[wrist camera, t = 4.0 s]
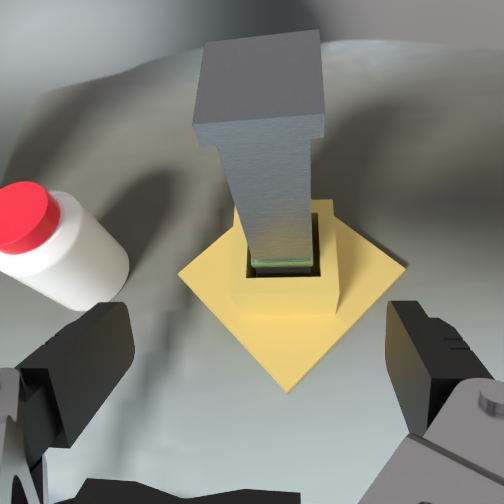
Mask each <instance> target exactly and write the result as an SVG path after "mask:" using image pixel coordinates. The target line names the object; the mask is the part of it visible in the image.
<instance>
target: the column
mask: <svg viewBox="0 0 504 504" xmlns="http://www.w3.org/2000/svg"><path fill="white" fill-rule="evenodd" d="M192 125H193V128H194V131H195V133H196V136H197V139H198V141H199V144H200V147H203V146H216V147H217V150H218V153H219V156H220V159H221V162H222V165H223V169H224V172H225V175H226V178H227V181H228V184H229V187H230V191H231V194H232V197H233V200H234V203H235V206H236V209H237V212H238V216H239V219H240V222H241V225H242V228H243V231H244V234H245V238H246V241H247V244H248V247H249V250H250V253H251V265H252V267H255V269H256V272H257V275H258V278H284V277H311V266H313V249H312V223H311V139H314V138H324V128H325V105H324V91H323V77H322V63H321V48H320V34H319V29H317V30H308V31H300V32H291V33H282V34H274V35H265V36H256V37H247V38H238V39H229V40H221V41H212V42H205V45H204V52H203V58H202V65H201V71H200V77H199V84H198V90H197V97H196V103H195V110H194V116H193V122H192Z"/></svg>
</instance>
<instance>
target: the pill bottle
mask: <svg viewBox="0 0 504 504" xmlns="http://www.w3.org/2000/svg"><path fill="white" fill-rule="evenodd" d="M0 271H1V272H3V273H5V274H6V275H8V276H10V277H12V278H14V279H15V280H17V281H19V282H21V283H23V284H25V285H26V286H28V287H30V288H32V289H34V290H35V291H37V292H39V293H41V294H43V295H44V296H46V297H48V298H50V299H52V300H54V301H55V302H57V303H59V304H61V305H63V306H64V307H67V308H69V309H71V310H75V311H88V310H90V309H91V308H92V307H93V306H94V305H96V304H97V303H99V302H109V301H110V300H111V299H113V298H114V297H115V296H116V295H117V294H118V292H119V291H120V290H121V289H122V287H123V285H124V284H125V282H126V279H127V277H128V273H129V258H128V255H127V253H126V251H125V249H124V248H123V247H122V246H121V245H120V244H119V243H118V242H117V241H116V240H115V239H114V238H113V236H112V235H111V234H110V233H109V232H108V231H107V230H106V229H105V228H104V227H103V226H102V225H101V224H100V223H99V222H98V221H97V220H96V219H95V218H94V217H93V216H92V215H91V214H90V213H89V212H88V211H87V209H86V208H85V207H84V206H83V205H82V204H81V203H80V202H79V201H78V200H77V199H76V198H75V197H73V196H72V195H70V194H68V193H66V192H63V191H58V190H46V189H45V188H44V187H42V186H41V185H39V184H38V183H35V182H30V181H23V182H17V183H13V184H10V185H8V186H6V187H4V188H2V189H0Z"/></svg>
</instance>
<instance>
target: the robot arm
mask: <svg viewBox="0 0 504 504" xmlns="http://www.w3.org/2000/svg"><path fill="white" fill-rule="evenodd" d="M134 354H135V346H134V340H133V335H132V329H131V324H130V319H129V313H128V309H127V306H126V304H125V303H123V302H99V303H97V304H96V305H94V306H93V307H92V308H91V309H90V310H88V311H87V312H86V313H85V314H84V315H82V316H81V317H80V318H79V319H78V320H76V321H74V322H72V323H70V324H68V325H66V326H65V327H64V328H62V329H61V330H60V331H59V332H57V333H56V334H55V337H51V338H50V339H49V340H48V341H46V342H45V345H42V346H40V347H39V348H38V349H37V350H35V351H34V352H33V353H32V354H31V355H29V356H28V357H27V358H26V359H24V360H23V361H22V362H21V363H20V364H18V365H17V366H16V367H15V368H0V504H48V478H47V462H46V458H45V455H44V453H45V451H46V450H47V449H48V448H49V447H53V448H71V446H72V445H73V444H74V442H75V441H76V439H77V438H78V437H79V435H80V434H81V433H82V431H83V430H84V429H85V427H86V426H87V425H88V423H89V422H90V420H91V419H92V418H93V416H94V415H95V414H96V412H97V411H98V410H99V408H100V407H101V405H102V404H103V403H104V401H105V400H106V399H107V397H108V396H109V395H110V393H111V392H112V391H113V389H114V388H115V386H116V385H117V384H118V382H119V381H120V380H121V378H122V377H123V376H124V374H125V373H126V371H127V370H128V369H129V367H130V366H131V364H132V362H133V359H134ZM385 359H386V366H387V371H388V374H389V376H390V379H391V382H392V385H393V388H394V390H395V393H396V396H397V399H398V402H399V404H400V407H401V410H402V413H403V416H404V418H405V421H406V424H407V427H408V430H409V432H410V433H409V434H408V435H407V436H406V437H405V438H404V440H403V441H402V442H401V444H400V445H399V447H398V448H397V449H396V451H395V452H394V454H393V455H392V456H391V458H390V459H389V461H388V462H387V463H386V465H385V466H384V468H383V469H382V470H381V472H380V473H379V475H378V476H377V477H376V479H375V480H374V482H373V483H372V484H371V486H370V487H369V489H368V490H367V491H366V493H365V494H364V496H363V497H362V498H361V500H360V501H359V503H358V504H504V382H501V381H497V380H495V379H494V378H493V377H492V375H491V374H490V373H489V372H488V370H487V369H486V368H485V366H484V365H483V364H482V363H481V361H480V360H479V359H478V357H477V356H476V355H475V354H474V352H473V351H471V350H470V347H469V346H468V345H467V343H466V342H465V341H463V338H462V337H461V336H460V334H459V333H458V332H457V330H456V329H455V328H454V327H453V326H451V325H450V324H448V323H446V322H445V321H443V320H441V319H440V318H429V317H428V316H427V314H426V313H425V311H424V310H423V308H422V307H421V305H420V304H419V302H418V301H389V302H388V305H387V317H386V339H385ZM54 504H301V495H300V493H296V492H282V491H267V490H252V489H241V490H236V491H230V492H224V493H218V494H213V495H207V496H201V497H195V498H188V499H184V498H179V497H177V496H174V495H171V494H168V493H166V492H163V491H160V490H158V489H155V488H152V487H149V486H147V485H144V484H141V483H139V482H135V481H120V480H106V479H91V478H87V479H86V480H85V482H84V484H83V485H82V487H81V488H80V490H79V492H78V493H77V495H76V496H75V498H72V499H67V500H64V501H60V502H57V503H54Z"/></svg>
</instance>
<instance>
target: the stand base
mask: <svg viewBox="0 0 504 504" xmlns="http://www.w3.org/2000/svg"><path fill="white" fill-rule="evenodd" d="M311 223H312V249H313V266H311V277H284V278H258V275H257V272H256V269H255V267H252V265H251V253H250V250H249V247H248V244H247V241H246V238H245V234H244V231H243V228H242V225H241V222H240V219H239V216H238V212H237V209H236V206H235V212H234V225H233V227H232V228H231V229H229V230H228V231H227V232H226V233H225V234H224V235H222V236H221V237H220V238H219V239H218V240H217V241H215V242H214V243H213V244H212V245H211V246H210V247H208V248H207V249H206V250H205V251H204V252H203V253H201V254H200V255H199V256H198V257H197V258H196V259H194V260H193V261H192V262H191V263H190V264H189V265H187V266H186V267H185V268H184V269H183V270H182V271H181V272H179V273H178V275H179V276H180V278H181V279H182V280H183V281H184V282H185V283H186V284H187V285H188V286H189V287H190V288H191V290H192V291H193V292H194V293H195V294H196V295H197V296H198V297H199V298H200V299H201V300H202V301H203V303H204V304H205V305H206V306H207V307H208V308H209V309H210V310H211V311H212V312H213V313H214V314H215V316H216V317H217V318H218V319H219V320H220V321H221V322H222V323H223V324H224V325H225V326H226V327H227V329H228V330H229V331H230V332H231V333H232V334H233V335H234V336H235V337H236V338H237V339H238V340H239V342H240V343H241V344H242V345H243V346H244V347H245V348H246V349H247V350H248V351H249V352H250V353H251V355H252V356H253V357H254V358H255V359H256V360H257V361H258V362H259V363H260V364H261V365H262V366H263V368H264V369H265V370H266V371H267V372H268V373H269V374H270V375H271V376H272V377H273V378H274V380H275V381H276V382H277V383H278V384H279V385H280V386H281V387H282V388H283V389H284V390H285V391H286V393H287V394H288V393H289V392H290V391H291V390H292V389H293V388H294V387H295V386H296V385H297V384H298V383H299V382H300V381H301V380H302V379H303V378H304V377H305V376H306V375H307V374H308V373H309V372H310V371H311V369H312V368H313V367H314V366H315V365H316V364H317V363H318V362H319V361H320V360H321V359H322V358H323V357H324V356H325V355H326V354H327V353H328V352H329V351H330V350H331V349H332V348H333V347H334V346H335V344H336V343H337V342H338V341H339V340H340V339H341V338H342V337H343V336H344V335H345V334H346V333H347V332H348V331H349V330H350V329H351V328H352V327H353V326H354V325H355V324H356V323H357V322H358V321H359V320H360V318H361V317H362V316H363V315H364V314H365V313H366V312H367V311H368V310H369V309H370V308H371V307H372V306H373V305H374V304H375V303H376V302H377V301H378V300H379V299H380V298H381V297H382V296H383V295H384V293H385V292H386V291H387V290H388V289H389V288H390V287H391V286H392V285H393V284H394V283H395V282H396V281H397V280H398V279H399V278H400V277H401V276H402V275H403V274H404V272H405V270H406V269H405V268H404V267H402V266H401V265H400V264H398V263H397V262H396V261H394V260H393V259H392V258H390V257H389V256H388V255H386V254H385V253H384V252H382V251H381V250H380V249H378V248H377V247H375V246H374V245H373V244H371V243H370V242H369V241H367V240H366V239H365V238H363V237H362V236H361V235H359V234H358V233H357V232H355V231H354V230H352V229H351V228H350V227H348V226H347V225H346V224H344V223H343V222H342V221H340V220H339V219H338V218H336V217H335V216H334V209H333V199H324V200H312V199H311Z"/></svg>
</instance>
